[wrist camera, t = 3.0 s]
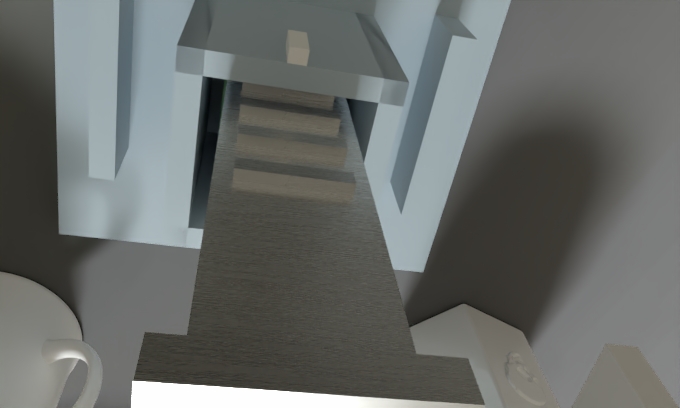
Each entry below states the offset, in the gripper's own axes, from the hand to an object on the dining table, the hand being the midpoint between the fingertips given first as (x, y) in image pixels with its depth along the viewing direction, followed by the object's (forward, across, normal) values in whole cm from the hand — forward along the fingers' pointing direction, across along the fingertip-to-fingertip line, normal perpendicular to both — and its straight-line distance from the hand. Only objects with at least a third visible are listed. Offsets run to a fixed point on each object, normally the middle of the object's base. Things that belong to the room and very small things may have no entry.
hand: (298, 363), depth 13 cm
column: (+16, 0, 0) cm, 16 cm away
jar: (+18, +13, -16) cm, 27 cm away
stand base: (+18, 0, 0) cm, 18 cm away
